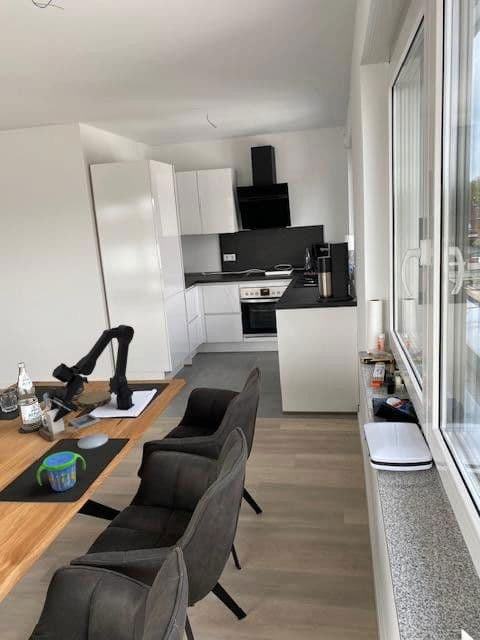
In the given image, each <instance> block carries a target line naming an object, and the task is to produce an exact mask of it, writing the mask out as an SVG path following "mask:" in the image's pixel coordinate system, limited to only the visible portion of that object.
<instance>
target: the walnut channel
mask: <svg viewBox="0 0 480 640" xmlns="http://www.w3.org/2000/svg"><path fill="white" fill-rule="evenodd" d="M68 421H69V420H68V419H63V422H64V427H68V426H69V422H68ZM47 430H48V425H47V426H44V427H41V428H39V429H38V432H39V435H40V436H42V437H43V438H45V439H46V440H47V441H49V442H50V443H52V442H54V441H57V440H60V439H62V438H65V437H67V436H70V435H73V434H75V433H77V432H79V431H80V430H78V426H77V425H76V426H71V427H68V428H66V429H65V430H63V431H60V432H57V433H55V434H52V435H51V434H50V433H49V432H47Z"/></svg>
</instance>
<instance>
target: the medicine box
mask: <svg viewBox="0 0 480 640" xmlns="http://www.w3.org/2000/svg"><path fill="white" fill-rule="evenodd" d="M47 396H48V395H47V392H45V393H44V394H43V395H42V398H43V403H44V408H45V407H46V406H47V405H48V404H49V403H50V400H51V399H49V398H48V397H47ZM60 405H61V406H62V404H60Z"/></svg>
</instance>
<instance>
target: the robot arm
mask: <svg viewBox="0 0 480 640" xmlns="http://www.w3.org/2000/svg"><path fill="white" fill-rule="evenodd" d="M134 334H135V330H134V328H133V327H132V326H130V325H127V324H120V325H118V326H115V327H112V328H109V329H104V330H103V331H102V334H101V336H100V337H99V338H98V339H97V341H96V342H95V343H94V345H93V346H92V348H91V349H90V350H89V352H88V353H86V355H85V356H83V357H81V359H80V360H78V362H76V364H74V365H72V366H68V365H67V364H66V363H64V362H61V363H60V364H59V365H58V366H57V367H56V368H54V370H53V371H52V375H51V376H52V377H53V378H54V379H56V380H58V381H60V382H62V384H63V383H66V382H67V384H66V385H65V386H64V385H62V386H61V387H51V386H48V387H47V392H46V393H47V395H48V396H47V397H48V398H49V399H51V400H50V403H51V408H50V410H53V409H56V408H57V409H59V410H58V412H57V414H56V416H55V418H54V420H53V422H57V421H58V420H60V419H61V418H62V417H63V418H64V417H66V416H67V415H68V414H71V413H73V412H74V413H77V412H78V411H79V405H78V404H76V403H74V401H73V399H74V398H75V397H74V396H75V395H76V397H78V396H79V395H78V393H77V392H78V390H79V388H80V387H81V385H82V384H84V383H85V384H89V380H88V377H87V376H90V375H92V374H93V372H94V370H95V368H96V366H97V361H98V360H99V357H100V356H101V355H102V354H103V352H104V351H105V349H106V348H107V346H109V344H110V343H111V341H112V340H113V339H116V341H117V352H116V354H117V355H116V362H115V371H114V375H113V377H112V376H111V377H109V384H108V387H109V390H110V391H111V392H112V393H113V394H114V395H116V399H115V400H116V401H115V402H116V408H115V409H116V410H118V409H120V411H128V409H129V410H130V409H131V408H133V407H134V406H135V403H133V397H132V396H133V395H134V390H133V389H131V388H129V386H128V385H129V383H128V379H127V375H126V374H127V366H128V358H129V357H128V356H129V348H130V344H131V342H132V341H133V338H134ZM74 373H76V374H78V375H74ZM77 395H78V396H77ZM60 404H62V406H61V405H60ZM132 406H133V407H132Z"/></svg>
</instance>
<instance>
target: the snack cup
mask: <svg viewBox="0 0 480 640" xmlns="http://www.w3.org/2000/svg"><path fill="white" fill-rule="evenodd" d="M78 458H79V459H80V460H81V464H82V469H83V470H86V466H87V465H86V460H85V459H84V458H83V457H82V456H81V455H80V454H78V453H74V452H72V451H61V452H55V453H53V454H50V455H49V456H47V457H46V458H45V459H44V460H43V463H42V464H41V465H40V466H39V468H38V469H37V472H36V479H37V482H38V483H39V485H40V486H42V485H43V484H42V482H41V474H40V473H42V471H43V470H45V471H46V474H47V476H48V480H49V484H50V485H51V487H52V490H54V491H55V492H56V491H57V492H63V491H66V490H69V489H71V488H73V487H74V485H75V484H76V479H77V478H76V477H77V475H76V471H77V470H76V468H77V467H76V463H77V459H78Z"/></svg>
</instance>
